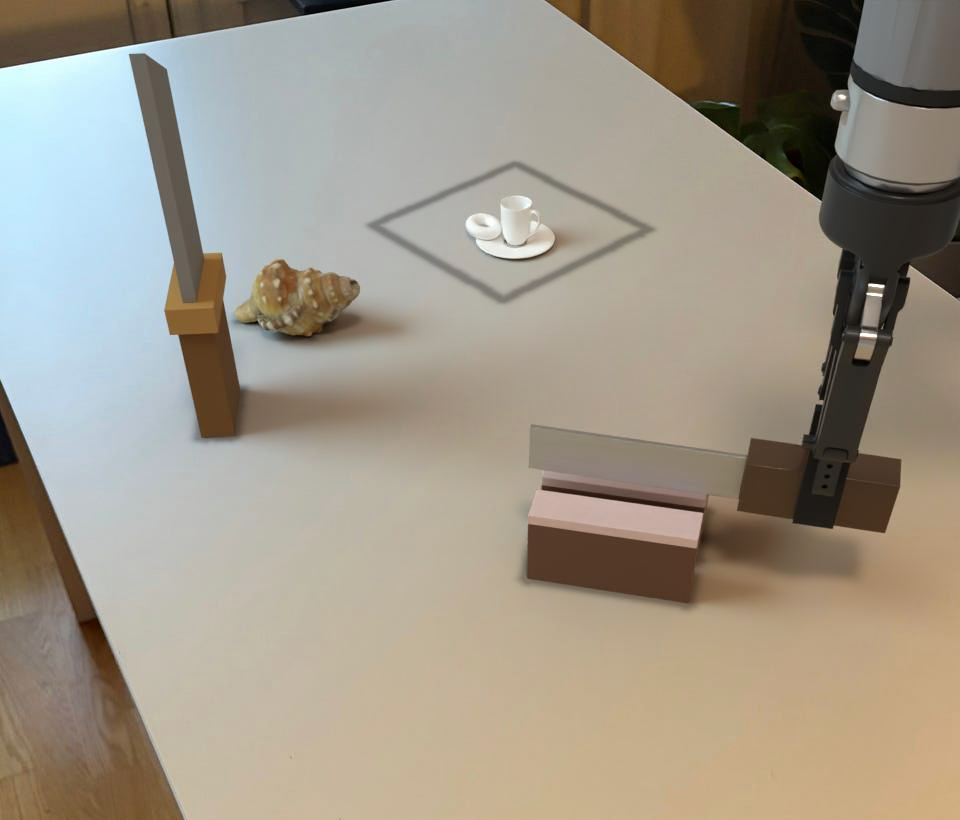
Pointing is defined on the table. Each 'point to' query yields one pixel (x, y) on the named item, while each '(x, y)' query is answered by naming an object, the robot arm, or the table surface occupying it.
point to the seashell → (296, 299)
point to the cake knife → (720, 472)
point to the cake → (625, 492)
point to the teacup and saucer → (511, 230)
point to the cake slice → (612, 545)
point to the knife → (189, 263)
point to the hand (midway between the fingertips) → (814, 505)
